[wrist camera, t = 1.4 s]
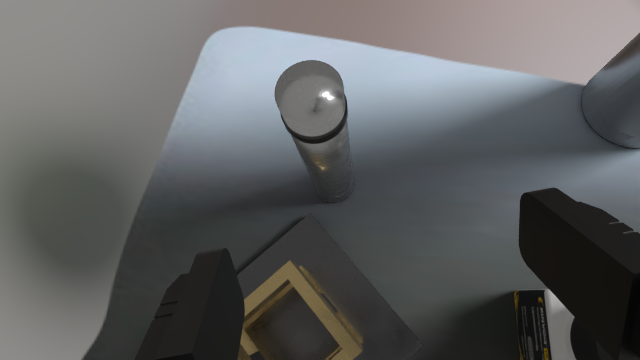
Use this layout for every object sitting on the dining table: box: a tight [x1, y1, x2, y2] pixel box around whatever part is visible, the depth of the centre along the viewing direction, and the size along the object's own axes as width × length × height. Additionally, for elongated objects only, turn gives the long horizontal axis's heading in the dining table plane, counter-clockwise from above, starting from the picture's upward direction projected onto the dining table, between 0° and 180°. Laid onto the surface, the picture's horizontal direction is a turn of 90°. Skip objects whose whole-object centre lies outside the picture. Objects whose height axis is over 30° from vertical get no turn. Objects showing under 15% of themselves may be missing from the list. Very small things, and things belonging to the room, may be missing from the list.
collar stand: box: [237, 213, 423, 360], centre depth 33 cm, size 16×16×10 cm
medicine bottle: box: [514, 289, 613, 360], centre depth 30 cm, size 7×7×12 cm
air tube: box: [275, 60, 354, 203], centre depth 32 cm, size 4×4×20 cm
